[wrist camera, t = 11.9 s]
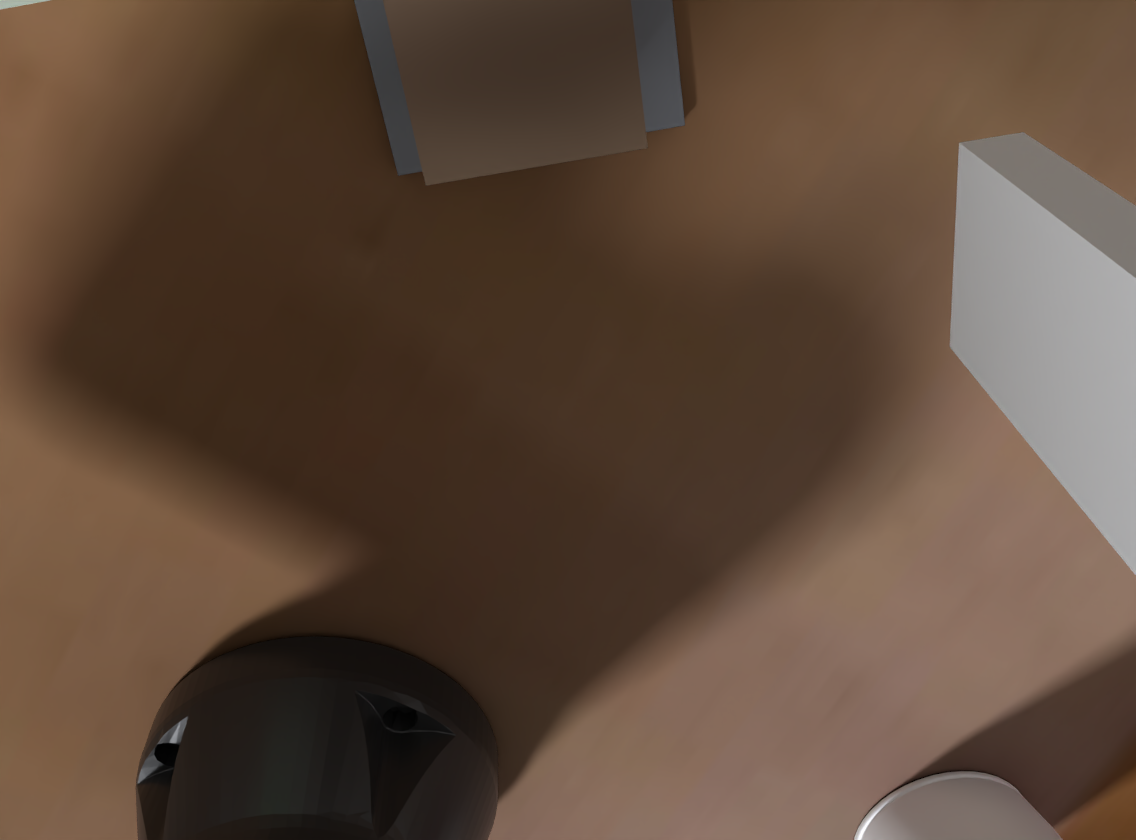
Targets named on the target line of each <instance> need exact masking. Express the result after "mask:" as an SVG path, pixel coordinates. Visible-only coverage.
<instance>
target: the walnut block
mask: <svg viewBox="0 0 1136 840" xmlns="http://www.w3.org/2000/svg"><path fill="white" fill-rule="evenodd" d="M383 3H384V8H385V12H386V16H387V21H388V25H389V29H390V34H391V38H392V42H393V47H394V51H395V55H396V59H397V64H398V68H399V72H400V77H401V81H402V85H403V90H404V94H405V98H406V103H407V107H408V111H409V116H410V120H411V124H412V128H413V133H414V137H415V141H416V146H417V150H418V154H419V159H420V163H421V167H422V172H423V176H424V180H425V185H426V186H427V185H433V184H439V183H445V182H451V181H457V180H463V179H469V178H474V177H480V176H486V175H492V174H498V173H504V172H510V171H516V170H522V169H528V168H534V167H540V166H546V165H551V164H557V163H563V162H569V161H575V160H581V159H587V158H593V157H599V156H605V155H611V154H617V153H623V152H628V151H634V150H640V149H646V148H648V145H647V136H646V128H645V119H644V110H643V102H642V93H641V84H640V76H639V67H638V58H637V50H636V41H635V32H634V24H633V15H632V6H631V0H383Z"/></svg>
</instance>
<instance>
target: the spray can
mask: <svg viewBox="0 0 1136 840" xmlns="http://www.w3.org/2000/svg"><path fill="white" fill-rule="evenodd" d="M854 840H1062V838H1061V837H1060V836H1059V834H1058V833H1057V832H1056V831H1055V829H1054V828H1053V827H1052V826H1051V825H1050V824H1049V823H1048V822H1047V821H1046V820H1045V819H1044V818H1043V817H1042V816H1041V815H1040V814H1039V813H1038V812H1037V811H1036V809H1035V808H1034V807H1033V806H1032V805H1031V804H1030V803H1029V802H1028V801H1027V800H1026V799H1025V798H1024V797H1023V796H1022V795H1021V793H1020V792H1019V791H1018V790H1017V789H1016V788H1015V787H1014V786H1012V785H1011V784H1010V783H1009V782H1007V781H1005V780H1003V779H1001V778H999V777H997V776H993V775H990V774H987V773H981V772H974V771H957V772H946V773H941V774H936V775H932V776H929V777H925V778H922V779H919V780H916V781H914V782H912V783H909V784H907V785H905V786H903V787H901V788H899V789H898V790H896V791H894V792H892V793H891V794H889V795H888V796H887V797H885V798H884V799H882V800H881V801H880V802H879V803H878V804H877V805H876V806H875V807H873V808H872V809H871V810H870V812H869V813H868V814H867V815H866V817H865V818H864V819H863V821H862V822H861V824H860V826H859V827H858V830H857V832H856V835H855V837H854Z"/></svg>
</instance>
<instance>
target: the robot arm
mask: <svg viewBox="0 0 1136 840" xmlns="http://www.w3.org/2000/svg"><path fill="white" fill-rule="evenodd" d="M950 348H951V349H952V350H953V351H954V353H955V354H956V355H957V356H958V358H959V359H960V360H961V361H962V363H963V364H964V365H965V366H966V367H967V369H968V370H969V371H970V372H971V374H972V375H973V376H974V377H975V379H976V380H977V381H978V382H979V383H980V385H981V386H982V387H983V388H984V390H985V391H986V392H987V393H988V394H989V396H990V397H991V398H992V399H993V401H994V402H995V403H996V404H997V406H998V407H999V408H1000V409H1001V410H1002V412H1003V413H1004V414H1005V415H1006V417H1007V418H1008V419H1009V420H1010V421H1011V423H1012V424H1013V425H1014V426H1015V428H1016V429H1017V430H1018V431H1019V433H1020V434H1021V435H1022V436H1023V437H1024V439H1025V440H1026V441H1027V442H1028V444H1029V445H1030V446H1031V447H1032V448H1033V450H1034V451H1035V452H1036V453H1037V455H1038V456H1039V457H1040V458H1041V460H1042V461H1043V462H1044V463H1045V464H1046V466H1047V467H1048V468H1049V469H1050V471H1051V472H1052V473H1053V474H1054V475H1055V477H1056V478H1057V479H1058V480H1059V482H1060V483H1061V484H1062V485H1063V487H1064V488H1065V489H1066V490H1067V491H1068V493H1069V494H1070V495H1071V496H1072V498H1073V499H1074V500H1075V501H1076V502H1077V504H1078V505H1079V506H1080V507H1081V509H1082V510H1083V511H1084V512H1085V514H1086V515H1087V516H1088V517H1089V518H1090V520H1091V521H1092V522H1093V523H1094V525H1095V526H1096V527H1097V528H1098V529H1099V531H1100V532H1101V533H1102V534H1103V536H1104V537H1105V538H1106V539H1107V541H1108V542H1109V543H1110V544H1111V545H1112V547H1113V548H1114V549H1115V550H1116V552H1117V553H1118V554H1119V555H1120V557H1121V558H1122V559H1123V560H1124V561H1125V563H1126V564H1127V565H1128V566H1129V568H1130V569H1131V570H1132V571H1133V572H1134V574H1135V575H1136V206H1135V205H1134V204H1132V203H1131V202H1129V201H1128V200H1126V199H1125V198H1123V197H1122V196H1120V195H1118V194H1117V193H1115V192H1114V191H1112V190H1111V189H1109V188H1108V187H1106V186H1105V185H1103V184H1102V183H1100V182H1099V181H1097V180H1096V179H1094V178H1093V177H1091V176H1089V175H1088V174H1086V173H1085V172H1083V171H1082V170H1080V169H1079V168H1077V167H1076V166H1074V165H1073V164H1071V163H1070V162H1068V161H1067V160H1065V159H1064V158H1062V157H1060V156H1059V155H1057V154H1056V153H1054V152H1053V151H1051V150H1050V149H1048V148H1047V147H1045V146H1044V145H1042V144H1041V143H1039V142H1038V141H1036V140H1035V139H1033V138H1031V137H1030V136H1028V135H1027V134H1025V133H1024V132H1022V133H1016V134H1010V135H1004V136H997V137H991V138H985V139H979V140H973V141H967V142H961V143H959V157H958V179H957V200H956V222H955V244H954V265H953V287H952V309H951V330H950ZM497 802H498V752H497V745H496V741H495V737H494V734H493V731H492V729H491V726H490V724H489V722H488V720H487V718H486V717H485V715H484V713H483V712H482V710H481V709H480V707H479V706H478V705H477V703H476V702H475V701H474V700H473V699H472V697H471V696H470V695H469V694H468V693H467V692H466V691H465V690H464V689H463V688H462V687H461V686H459V685H458V684H457V683H456V682H455V681H454V680H452V679H451V678H449V677H448V676H447V675H445V674H444V673H442V672H441V671H439V670H438V669H436V668H435V667H433V666H431V665H429V664H427V663H425V662H424V661H422V660H419V659H417V658H415V657H413V656H411V655H408V654H406V653H403V652H401V651H398V650H395V649H392V648H389V647H385V646H382V645H378V644H374V643H370V642H365V641H360V640H353V639H346V638H336V637H293V638H284V639H276V640H270V641H265V642H260V643H256V644H252V645H249V646H245V647H242V648H239V649H236V650H234V651H231V652H228V653H226V654H224V655H221V656H219V657H217V658H215V659H213V660H211V661H209V662H208V663H206V664H204V665H202V666H201V667H199V668H198V669H196V670H195V671H193V672H192V673H191V674H190V675H188V676H187V677H186V678H185V679H183V680H182V681H181V682H180V683H179V684H178V685H177V686H176V687H175V688H174V689H173V690H172V692H171V693H170V694H169V695H168V697H167V698H166V699H165V701H164V702H163V704H162V705H161V707H160V709H159V711H158V713H157V715H156V717H155V719H154V722H153V725H152V728H151V730H150V733H149V736H148V739H147V742H146V744H145V747H144V750H143V753H142V756H141V759H140V762H139V767H138V773H137V779H136V806H137V829H138V840H488V837H489V835H490V832H491V830H492V827H493V823H494V819H495V815H496V809H497Z"/></svg>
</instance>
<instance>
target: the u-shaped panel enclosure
mask: <svg viewBox="0 0 1136 840" xmlns="http://www.w3.org/2000/svg"><path fill="white" fill-rule="evenodd" d="M43 1H49V0H0V9H5V8H10V7H16V6H21V5H27V4H32V3H38V2H43Z"/></svg>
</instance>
